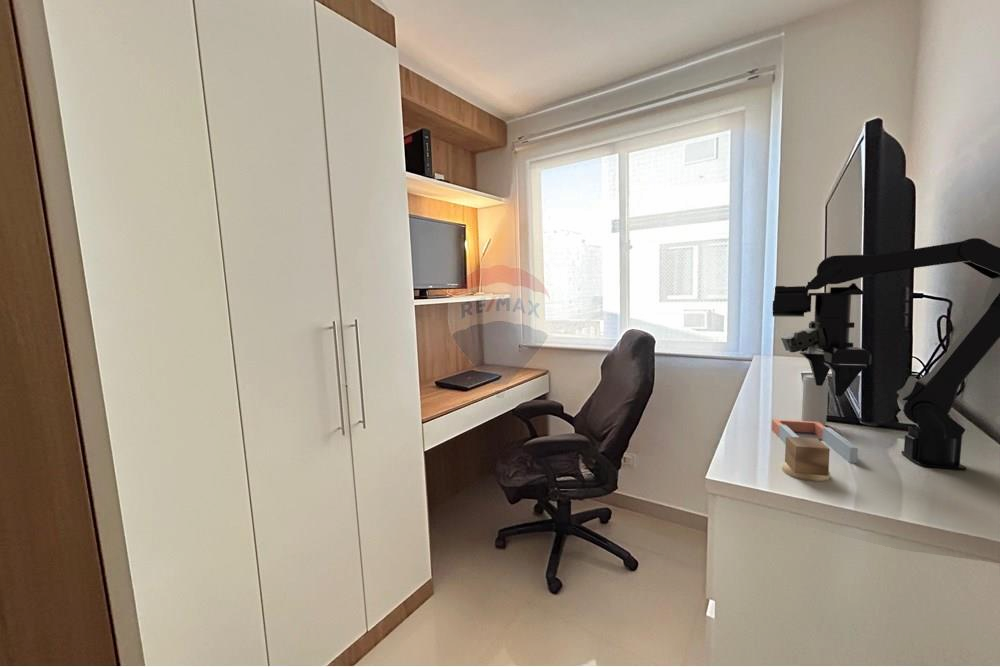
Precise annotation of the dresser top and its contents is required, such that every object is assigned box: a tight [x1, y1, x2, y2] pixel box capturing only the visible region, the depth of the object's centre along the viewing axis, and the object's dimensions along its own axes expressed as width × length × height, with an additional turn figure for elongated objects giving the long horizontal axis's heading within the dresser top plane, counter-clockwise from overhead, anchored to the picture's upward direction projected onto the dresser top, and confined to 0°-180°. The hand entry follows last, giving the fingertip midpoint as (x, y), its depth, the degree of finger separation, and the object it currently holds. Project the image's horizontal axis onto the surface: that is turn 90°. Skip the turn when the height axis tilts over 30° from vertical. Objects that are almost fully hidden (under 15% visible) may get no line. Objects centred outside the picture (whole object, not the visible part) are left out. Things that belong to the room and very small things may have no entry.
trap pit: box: [771, 418, 826, 441], centre depth 92 cm, size 9×6×2 cm, turn 71°
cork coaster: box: [781, 461, 831, 483], centre depth 74 cm, size 7×7×1 cm
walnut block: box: [784, 437, 830, 476], centre depth 74 cm, size 5×5×5 cm
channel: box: [778, 425, 859, 464], centre depth 84 cm, size 9×12×3 cm
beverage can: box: [800, 374, 829, 426], centre depth 99 cm, size 5×5×12 cm
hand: (828, 390), depth 85 cm, fingers open, 9 cm apart
